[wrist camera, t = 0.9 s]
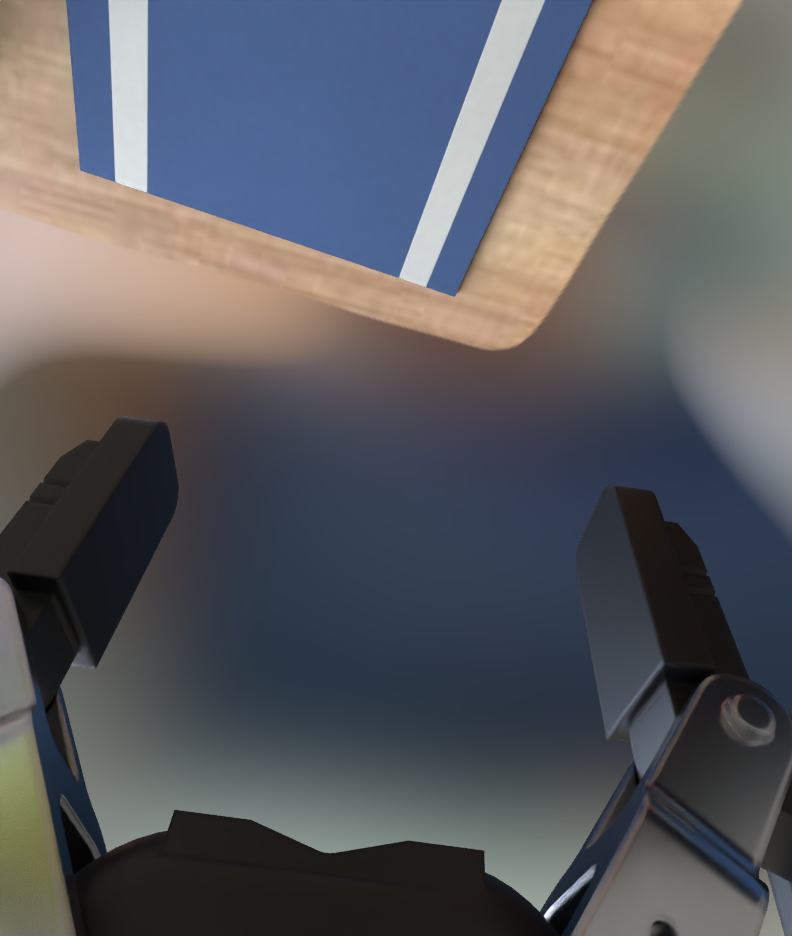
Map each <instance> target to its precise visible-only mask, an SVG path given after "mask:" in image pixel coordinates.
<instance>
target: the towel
mask: <svg viewBox="0 0 792 936" xmlns="http://www.w3.org/2000/svg"><path fill="white" fill-rule="evenodd" d="M592 1H593V0H66V2H67V14H68V26H69V38H70V51H71V63H72V75H73V87H74V100H75V112H76V124H77V136H78V149H79V161H80V170H81V171H84V172H87V173H90V174H93V175H96V176H99V177H102V178H105V179H108V180H111V181H114V182H117V183H120V184H123V185H126V186H129V187H132V188H135V189H138V190H140V191H143V192H146V193H149V194H152V195H155V196H158V197H161V198H164V199H167V200H170V201H173V202H176V203H179V204H182V205H185V206H188V207H191V208H194V209H197V210H200V211H203V212H205V213H208V214H211V215H214V216H217V217H220V218H223V219H226V220H229V221H232V222H235V223H238V224H241V225H244V226H247V227H250V228H253V229H256V230H259V231H262V232H265V233H268V234H270V235H273V236H276V237H279V238H282V239H285V240H288V241H291V242H294V243H297V244H300V245H303V246H306V247H309V248H312V249H315V250H318V251H321V252H324V253H327V254H330V255H333V256H336V257H338V258H341V259H344V260H347V261H350V262H353V263H356V264H359V265H362V266H365V267H368V268H371V269H374V270H377V271H380V272H383V273H386V274H389V275H392V276H395V277H398V278H401V279H403V280H406V281H409V282H412V283H415V284H418V285H421V286H424V287H427V288H430V289H433V290H436V291H439V292H442V293H445V294H448V295H451V296H454V297H455V295H456V293H457V291H458V289H459V287H460V285H461V282H462V280H463V278H464V276H465V274H466V272H467V269H468V267H469V265H470V263H471V261H472V259H473V257H474V254H475V252H476V250H477V248H478V246H479V244H480V242H481V239H482V237H483V235H484V233H485V231H486V229H487V227H488V224H489V222H490V220H491V218H492V216H493V214H494V211H495V209H496V207H497V205H498V203H499V201H500V199H501V196H502V194H503V192H504V190H505V188H506V186H507V184H508V181H509V179H510V177H511V175H512V173H513V171H514V168H515V166H516V164H517V162H518V160H519V158H520V156H521V153H522V151H523V149H524V147H525V145H526V143H527V141H528V138H529V136H530V134H531V132H532V130H533V128H534V126H535V123H536V121H537V119H538V117H539V115H540V113H541V110H542V108H543V106H544V104H545V102H546V100H547V98H548V95H549V93H550V91H551V89H552V87H553V85H554V83H555V80H556V78H557V76H558V74H559V72H560V70H561V68H562V65H563V63H564V61H565V59H566V57H567V55H568V52H569V50H570V48H571V46H572V44H573V42H574V40H575V37H576V35H577V33H578V31H579V29H580V27H581V25H582V22H583V20H584V18H585V16H586V14H587V12H588V10H589V7H590V5H591V3H592Z"/></svg>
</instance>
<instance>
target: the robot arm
mask: <svg viewBox="0 0 792 936" xmlns="http://www.w3.org/2000/svg"><path fill="white" fill-rule="evenodd" d="M177 500H178V479H177V474H176V468H175V462H174V457H173V450H172V445H171V439H170V433H169V429H168V426H167V425H166V423H165V422H162V421H155V420H147V419H140V418H133V417H126V416H121V417H119V418H117V419H116V420H115V421H114V423H113V424H112V426H111V427H110V428H109V430H108V431H107V432H106V434H105V435H104V437H103V438H102V439H101V441H100V442H98V441H90V440H86V441H85V442H83V443H82V444H80V445H79V446H77V447H75V448H74V449H72V450H71V451H69V452H68V453H66V454H65V455H63V456H62V457H60V459H59V460H58V461H57V462H56V464H55V465H54V466H53V468H52V469H51V470H50V471H49V473H48V474H47V475H46V476H45V478H44V482H43V483H40V484H39V486H38V487H37V488H36V489H35V490H34V492H33V493H32V494H31V496H30V500H29V501H26V502H25V503H24V504H23V506H22V507H21V509H20V510H19V511H18V512H17V513H16V515H15V516H14V517H13V519H12V520H11V521H10V522H9V524H8V525H7V526H6V528H5V529H4V530H3V531H2V533H1V534H0V936H759V933H760V930H761V927H762V924H763V921H764V918H765V915H766V911H767V907H768V902H769V889H768V886H767V885H766V884H765V883H764V882H762V881H761V880H760V879H759V870H760V867H761V868H763V869H765V870H767V873H768V877H769V881H770V884H771V888H772V891H773V895H774V898H775V902H776V906H777V909H778V913H779V916H780V920H781V924H782V927H783V931H784V934H785V936H792V716H791V714H790V713H789V711H788V710H787V709H786V707H785V706H784V705H783V704H782V703H781V702H780V701H779V700H778V699H777V698H776V697H775V696H774V695H773V694H772V693H771V692H769V691H768V690H766V689H765V688H764V687H762V686H761V685H759V684H757V683H756V682H754V681H752V680H750V678H749V676H748V674H747V672H746V669H745V667H744V664H743V662H742V659H741V656H740V654H739V651H738V649H737V646H736V644H735V641H734V639H733V636H732V633H731V631H730V628H729V626H728V623H727V621H726V618H725V616H724V613H723V610H722V608H721V605H720V603H719V600H718V598H717V597H715V595H714V594H715V591H714V588H713V585H712V582H711V580H710V578H709V576H707V575H706V574H707V570H706V567H705V565H704V562H703V560H702V557H701V554H700V552H699V549H698V547H697V545H696V544H695V543H694V542H693V541H692V540H691V539H690V537H689V536H688V535H687V534H686V533H685V531H684V530H683V529H682V528H681V527H680V526H679V524H678V523H673V522H666V521H664V519H663V516H662V513H661V510H660V507H659V505H658V501H657V499H656V496H655V495H654V493H653V492H651V491H649V490H642V489H634V488H627V487H620V486H613V485H609V486H607V487H606V488H605V489H604V491H603V492H602V494H601V497H600V499H599V501H598V503H597V505H596V507H595V509H594V512H593V514H592V516H591V518H590V520H589V522H588V525H587V527H586V529H585V531H584V533H583V535H582V538H581V540H580V543H579V545H578V549H577V556H576V573H577V580H578V585H579V590H580V596H581V602H582V606H583V612H584V618H585V623H586V629H587V634H588V640H589V645H590V651H591V656H592V662H593V667H594V673H595V678H596V683H597V689H598V694H599V700H600V706H601V711H602V716H603V722H604V727H605V733H606V738H607V740H613V741H620V742H627V743H631V746H632V751H633V756H634V761H633V763H632V764H631V765H630V766H629V768H628V770H627V771H626V773H625V775H624V776H623V778H622V780H621V781H620V783H619V785H618V786H617V788H616V790H615V792H614V793H613V795H612V797H611V799H610V800H609V802H608V804H607V805H606V807H605V809H604V811H603V812H602V814H601V816H600V817H599V819H598V821H597V823H596V824H595V826H594V828H593V829H592V831H591V833H590V834H589V836H588V838H587V839H586V841H585V843H584V845H583V846H582V848H581V850H580V851H579V853H578V855H577V856H576V858H575V859H574V861H573V862H572V864H571V865H570V867H569V868H568V869H567V871H566V872H565V874H564V875H563V876H562V878H561V879H560V880H559V882H558V883H557V885H556V886H555V888H554V890H553V891H552V892H551V894H550V896H549V897H548V899H547V900H546V902H545V904H544V906H543V907H542V909H541V910H540V912H539V911H538V910H537V909H536V908H535V907H534V906H533V905H532V904H531V903H530V902H529V901H528V900H526V899H525V898H524V897H523V896H522V895H520V894H519V893H518V892H517V891H515V890H514V889H513V888H512V887H510V886H508V885H507V884H505V883H504V882H502V881H500V880H499V879H497V878H496V877H494V876H492V875H490V874H487V873H485V866H484V865H485V864H484V851H483V850H475V849H468V848H460V847H452V846H445V845H437V844H430V843H422V842H414V841H404V842H398V843H392V844H386V845H380V846H374V847H368V848H362V849H356V850H350V851H344V852H338V853H323V852H320V851H318V850H315V849H313V848H311V847H309V846H307V845H304V844H302V843H300V842H298V841H296V840H294V839H291V838H289V837H287V836H285V835H282V834H281V833H278V832H276V831H274V830H272V829H270V828H267V827H265V826H263V825H261V824H258V823H257V822H254V821H252V820H247V819H240V818H232V817H224V816H217V815H209V814H202V813H195V812H187V811H179V810H174V813H173V816H172V819H171V822H170V826H169V828H168V831H164V832H158V833H155V834H152V835H148V836H145V837H141V838H138V839H135V840H133V841H131V842H128V843H126V844H124V845H121V846H119V847H117V848H115V849H113V850H111V851H109V852H108V853H107V850H106V846H105V843H104V839H103V836H102V832H101V829H100V826H99V823H98V820H97V818H96V815H95V812H94V810H93V807H92V804H91V801H90V799H89V796H88V792H87V789H86V785H85V782H84V777H83V773H82V769H81V765H80V761H79V757H78V753H77V749H76V745H75V741H74V737H73V733H72V729H71V726H70V721H69V717H68V713H67V709H66V705H65V701H64V698H63V694H62V690H61V688H60V684H61V683H62V681H63V679H64V677H65V675H66V673H67V672H68V670H69V668H70V666H78V667H86V668H93V669H96V667H97V665H98V663H99V661H100V659H101V657H102V655H103V653H104V651H105V649H106V648H107V645H108V643H109V642H110V640H111V638H112V636H113V634H114V632H115V630H116V628H117V626H118V624H119V622H120V620H121V618H122V616H123V614H124V612H125V610H126V608H127V606H128V604H129V602H130V600H131V598H132V596H133V594H134V592H135V590H136V588H137V586H138V584H139V582H140V580H141V578H142V576H143V574H144V572H145V570H146V568H147V566H148V565H149V563H150V561H151V559H152V556H153V555H154V552H155V551H156V549H157V547H158V545H159V543H160V541H161V539H162V537H163V535H164V533H165V531H166V529H167V527H168V525H169V523H170V521H171V519H172V517H173V515H174V512H175V509H176V505H177Z"/></svg>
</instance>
